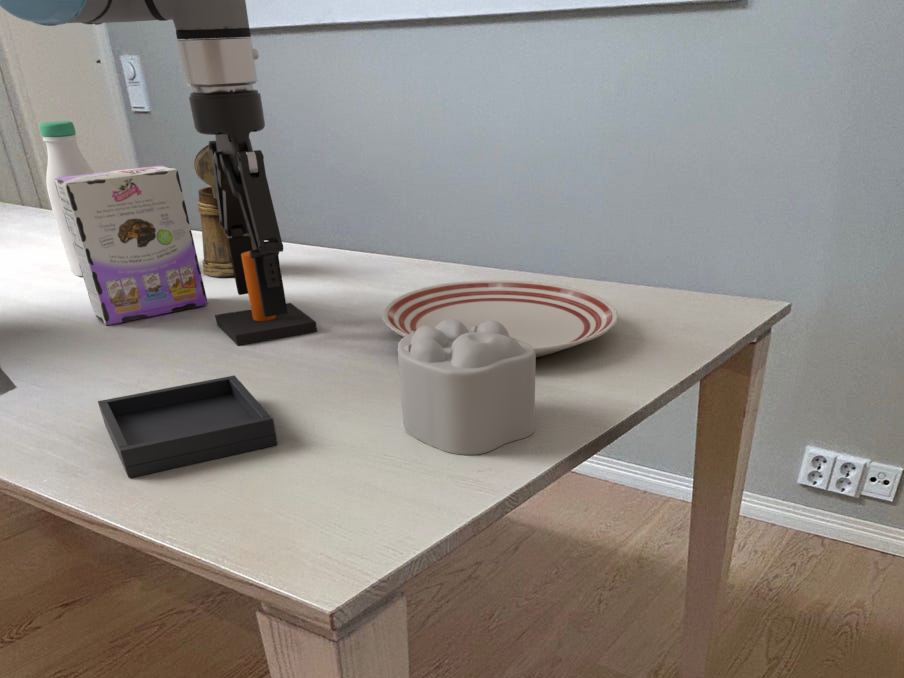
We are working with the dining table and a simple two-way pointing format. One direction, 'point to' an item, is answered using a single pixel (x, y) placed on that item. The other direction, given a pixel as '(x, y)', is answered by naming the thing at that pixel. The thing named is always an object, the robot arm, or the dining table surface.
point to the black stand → (262, 316)
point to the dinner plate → (508, 311)
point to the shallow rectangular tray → (186, 425)
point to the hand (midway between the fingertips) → (261, 303)
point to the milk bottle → (63, 175)
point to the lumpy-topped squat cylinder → (466, 386)
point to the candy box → (133, 242)
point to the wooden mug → (212, 221)
